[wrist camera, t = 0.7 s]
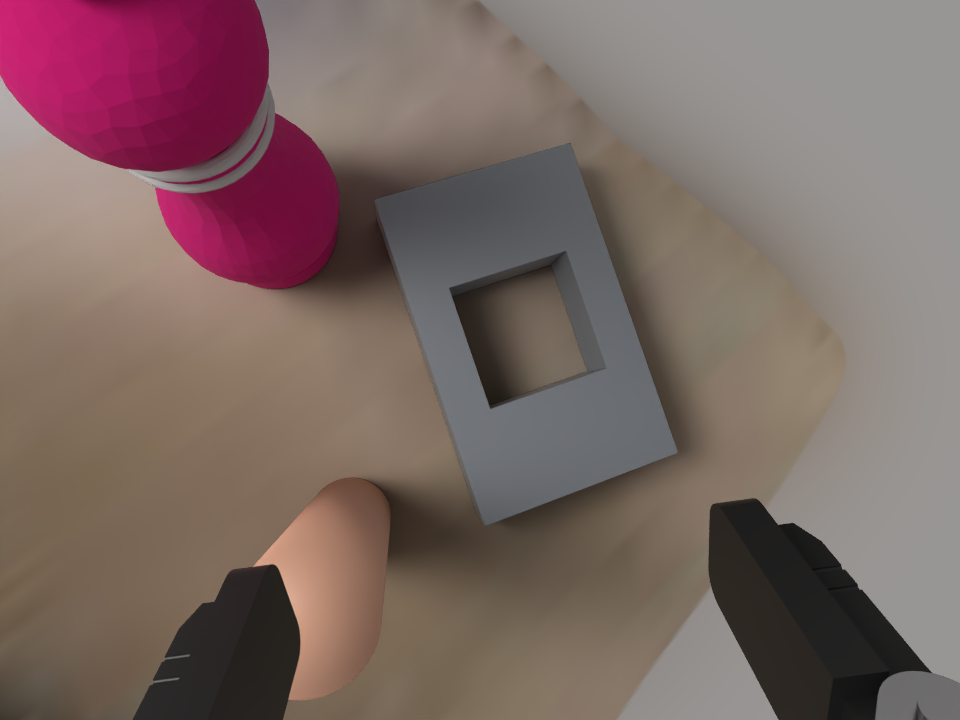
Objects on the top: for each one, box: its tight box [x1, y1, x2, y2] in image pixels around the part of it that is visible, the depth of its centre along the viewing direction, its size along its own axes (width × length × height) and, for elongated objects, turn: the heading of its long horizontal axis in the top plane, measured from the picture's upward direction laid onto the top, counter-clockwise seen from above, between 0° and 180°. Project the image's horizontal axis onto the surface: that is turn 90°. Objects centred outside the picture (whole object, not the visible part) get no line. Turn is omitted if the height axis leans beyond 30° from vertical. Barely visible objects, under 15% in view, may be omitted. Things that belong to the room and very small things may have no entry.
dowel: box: [253, 478, 391, 700], centre depth 23 cm, size 4×4×14 cm
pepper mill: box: [0, 0, 339, 289], centre depth 20 cm, size 7×7×20 cm
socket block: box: [374, 143, 678, 526], centre depth 30 cm, size 16×10×3 cm, turn 19°
